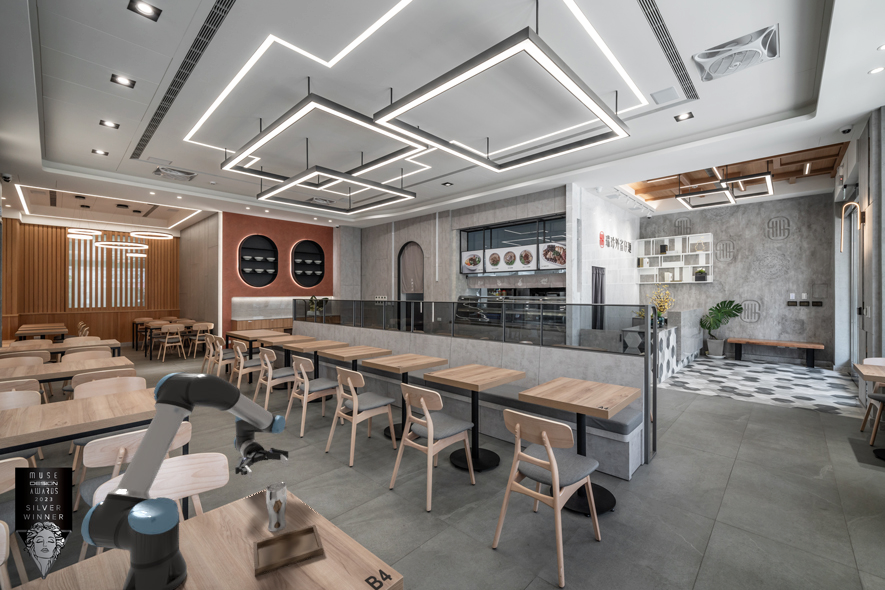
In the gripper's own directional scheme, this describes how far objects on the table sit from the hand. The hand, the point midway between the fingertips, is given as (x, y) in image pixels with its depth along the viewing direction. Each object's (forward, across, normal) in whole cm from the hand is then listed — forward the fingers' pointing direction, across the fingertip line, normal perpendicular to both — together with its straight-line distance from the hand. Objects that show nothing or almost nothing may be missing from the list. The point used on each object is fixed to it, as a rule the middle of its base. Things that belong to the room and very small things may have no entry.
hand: (269, 469), depth 148 cm
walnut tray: (+27, +4, -17) cm, 32 cm away
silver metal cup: (+11, +2, -17) cm, 20 cm away
